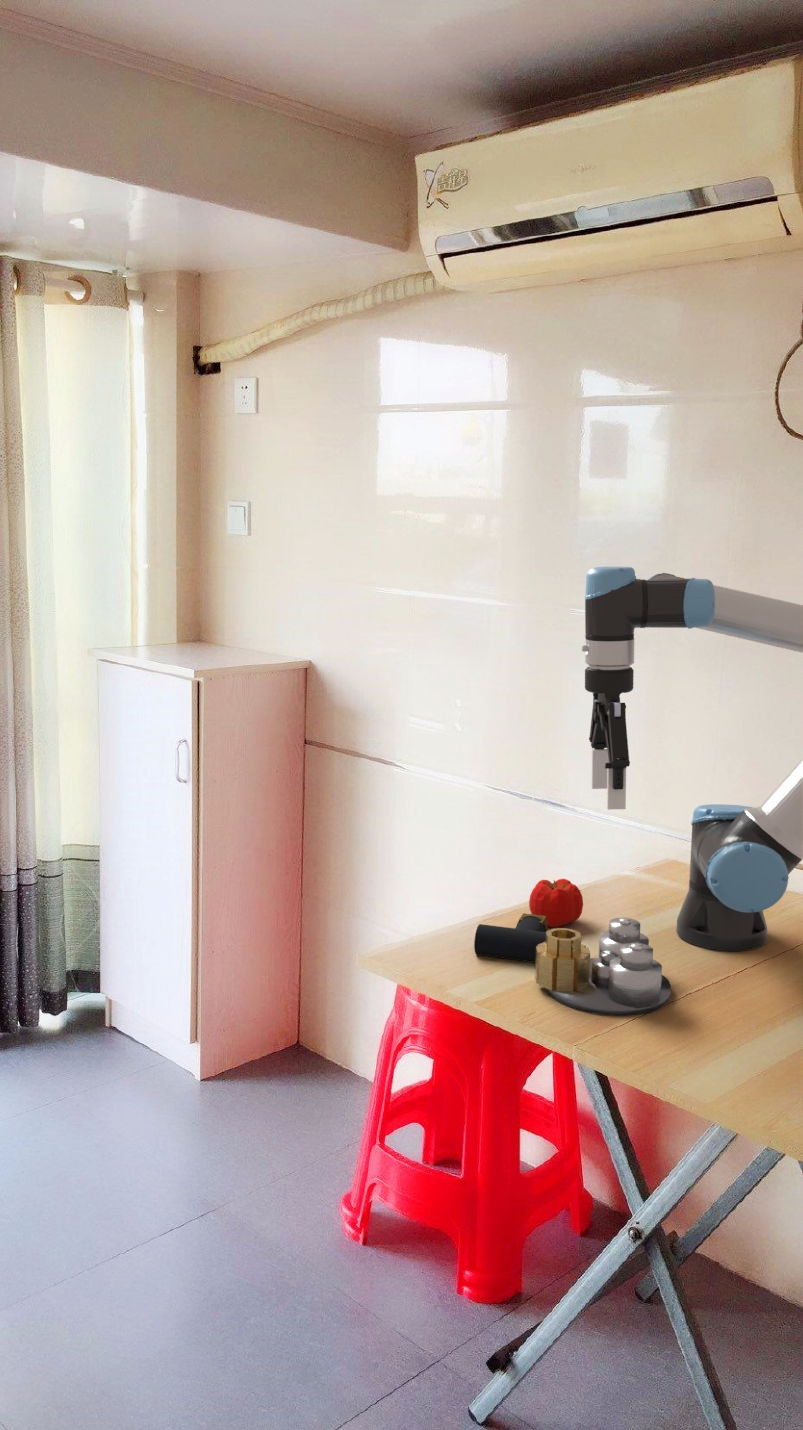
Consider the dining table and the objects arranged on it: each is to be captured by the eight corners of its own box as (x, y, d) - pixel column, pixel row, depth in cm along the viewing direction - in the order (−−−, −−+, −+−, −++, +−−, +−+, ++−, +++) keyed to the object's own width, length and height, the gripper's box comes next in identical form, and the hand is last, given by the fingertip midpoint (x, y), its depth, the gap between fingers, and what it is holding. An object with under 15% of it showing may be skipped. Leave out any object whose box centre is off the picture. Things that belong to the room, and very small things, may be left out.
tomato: (524, 928, 204) (525, 887, 203) (535, 912, 213) (536, 872, 211) (577, 934, 202) (579, 893, 200) (586, 918, 210) (587, 878, 209)
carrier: (658, 966, 188) (660, 911, 186) (682, 1017, 169) (685, 956, 167) (540, 964, 188) (541, 909, 186) (551, 1014, 169) (553, 953, 168)
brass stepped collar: (584, 971, 182) (586, 925, 181) (591, 992, 174) (593, 944, 173) (533, 970, 183) (535, 924, 181) (538, 990, 175) (539, 943, 173)
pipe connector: (492, 906, 201) (578, 916, 196) (491, 935, 202) (577, 946, 197) (474, 929, 190) (565, 941, 185) (474, 960, 191) (564, 972, 186)
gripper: (572, 657, 194) (571, 781, 198) (599, 677, 170) (598, 818, 173) (617, 656, 194) (615, 780, 198) (651, 676, 170) (648, 817, 173)
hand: (607, 798), depth 186 cm, fingers open, 13 cm apart
